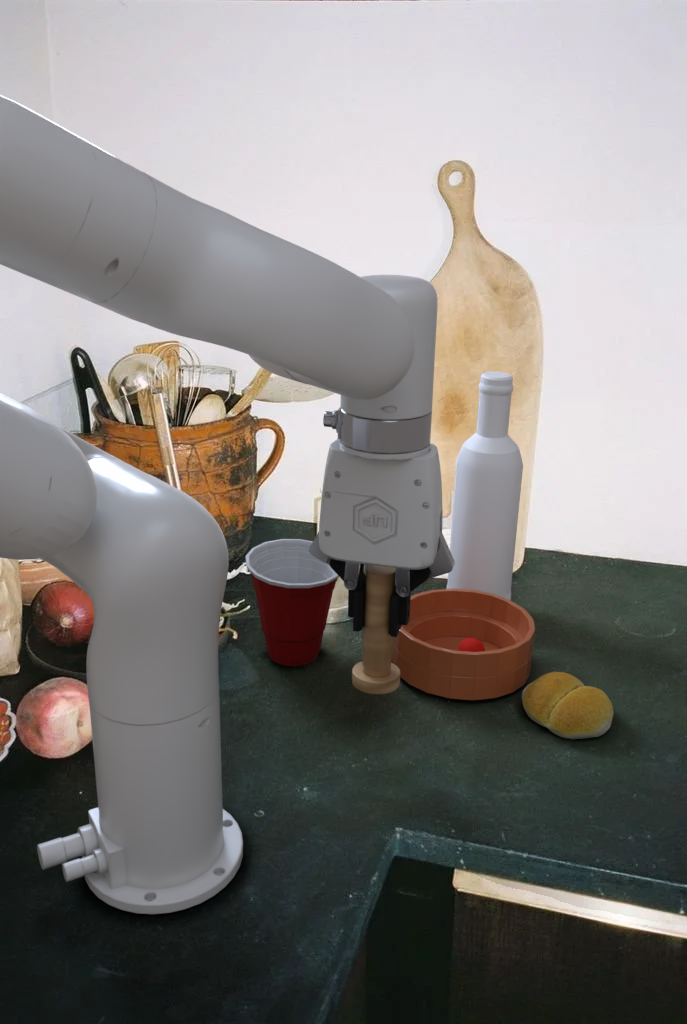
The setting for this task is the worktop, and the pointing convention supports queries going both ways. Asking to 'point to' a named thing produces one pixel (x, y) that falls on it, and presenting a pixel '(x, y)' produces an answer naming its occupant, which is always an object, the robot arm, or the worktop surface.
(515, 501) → the bottle
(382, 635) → the muddler
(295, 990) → the worktop surface
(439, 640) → the bowl
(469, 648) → the tomato
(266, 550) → the plastic cup
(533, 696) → the bread roll
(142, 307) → the robot arm
